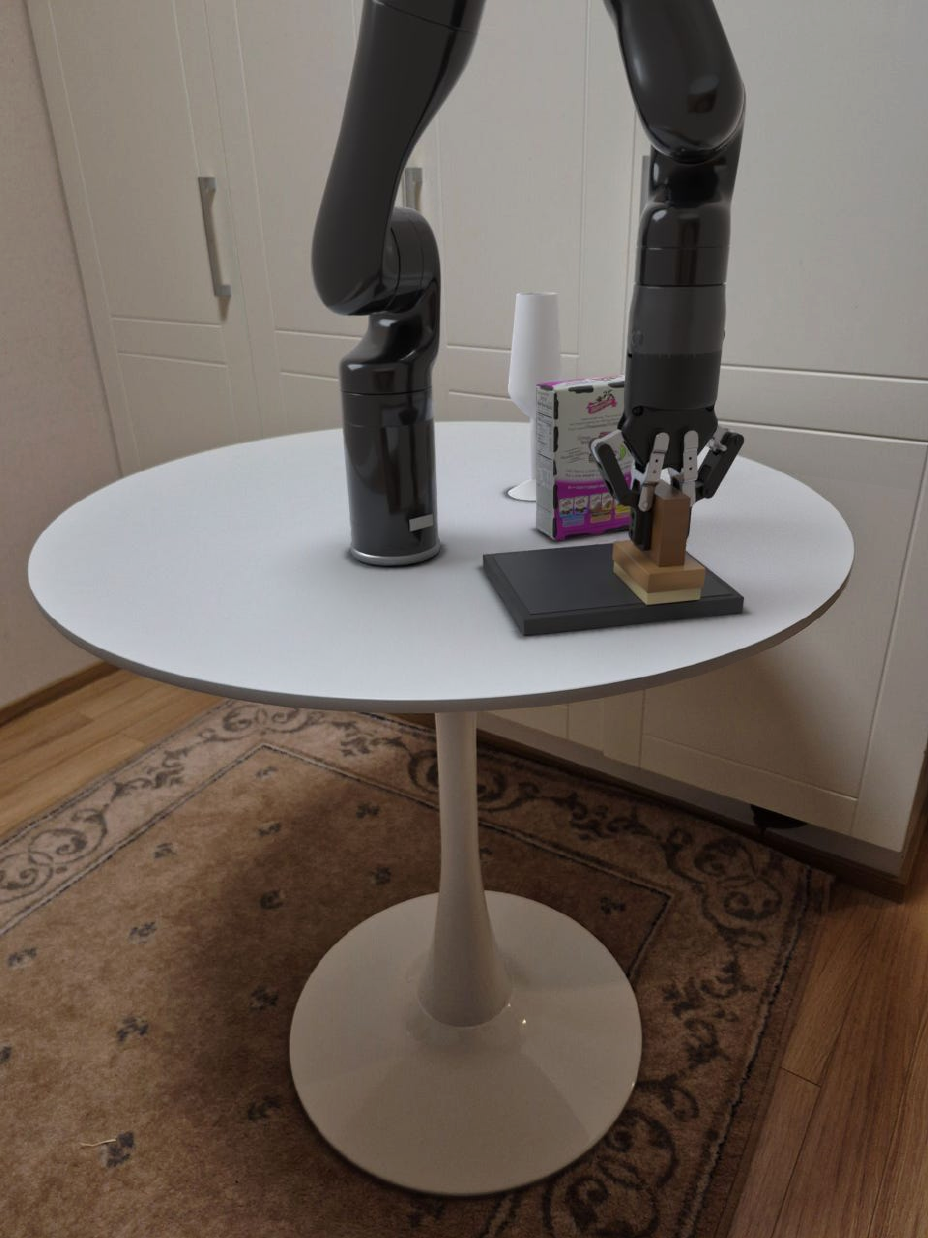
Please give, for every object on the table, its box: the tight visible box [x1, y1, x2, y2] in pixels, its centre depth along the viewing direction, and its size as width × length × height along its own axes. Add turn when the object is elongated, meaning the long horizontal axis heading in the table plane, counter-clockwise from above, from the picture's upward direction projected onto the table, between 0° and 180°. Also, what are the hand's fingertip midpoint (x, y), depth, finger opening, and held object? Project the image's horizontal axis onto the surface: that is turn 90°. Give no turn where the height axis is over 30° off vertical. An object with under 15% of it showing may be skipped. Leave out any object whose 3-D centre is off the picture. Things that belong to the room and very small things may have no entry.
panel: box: [482, 542, 745, 637], centre depth 81 cm, size 16×20×2 cm
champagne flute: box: [507, 291, 564, 502], centre depth 105 cm, size 7×7×24 cm
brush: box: [612, 478, 706, 605], centre depth 76 cm, size 8×5×9 cm, turn 12°
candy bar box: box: [535, 374, 633, 542], centre depth 94 cm, size 11×5×16 cm, turn 112°
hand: (657, 545), depth 76 cm, fingers closed on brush, 2 cm apart
